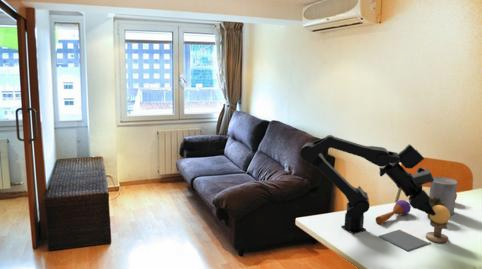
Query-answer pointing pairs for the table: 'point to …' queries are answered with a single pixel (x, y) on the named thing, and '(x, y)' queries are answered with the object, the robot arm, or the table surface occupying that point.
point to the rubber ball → (440, 214)
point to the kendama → (395, 211)
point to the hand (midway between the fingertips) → (431, 209)
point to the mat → (404, 239)
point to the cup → (435, 203)
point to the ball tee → (437, 233)
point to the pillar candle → (444, 191)
